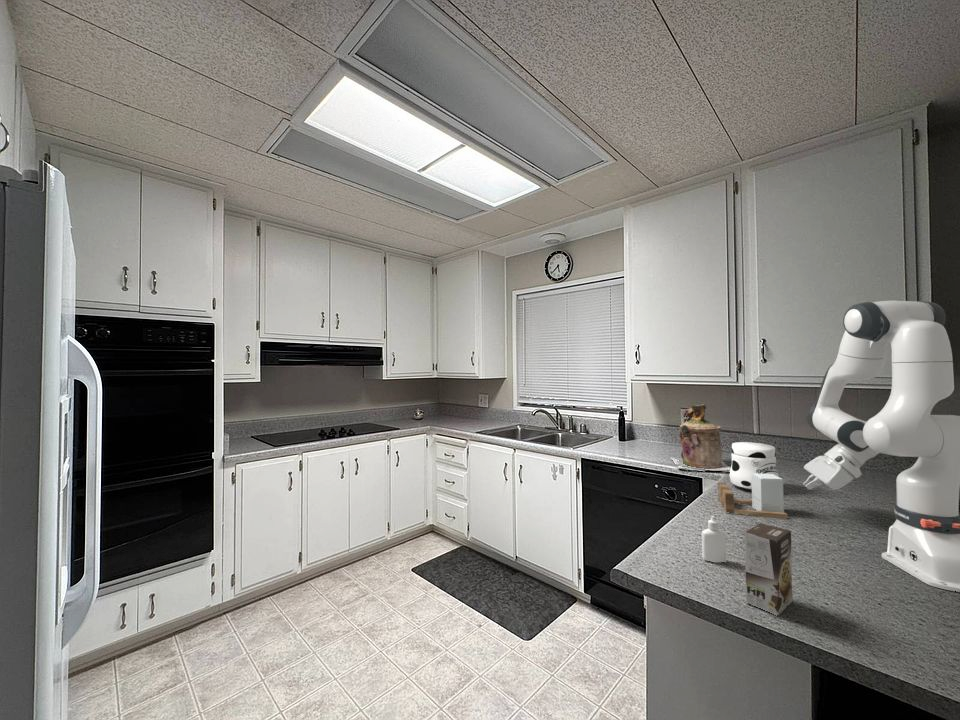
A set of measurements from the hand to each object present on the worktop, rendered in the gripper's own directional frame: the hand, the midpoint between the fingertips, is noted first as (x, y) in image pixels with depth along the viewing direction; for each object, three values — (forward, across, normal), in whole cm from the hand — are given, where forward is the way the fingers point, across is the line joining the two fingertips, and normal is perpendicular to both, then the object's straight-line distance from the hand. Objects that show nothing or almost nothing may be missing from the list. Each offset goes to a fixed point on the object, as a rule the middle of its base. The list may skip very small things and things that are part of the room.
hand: (805, 487), depth 143 cm
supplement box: (+15, +1, -1) cm, 15 cm away
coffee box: (+25, +65, -14) cm, 71 cm away
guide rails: (+18, +1, -5) cm, 19 cm away
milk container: (+14, -27, +1) cm, 30 cm away
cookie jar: (+26, -60, -10) cm, 66 cm away
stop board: (+24, +1, -11) cm, 26 cm away
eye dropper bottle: (+31, +47, -19) cm, 60 cm away
